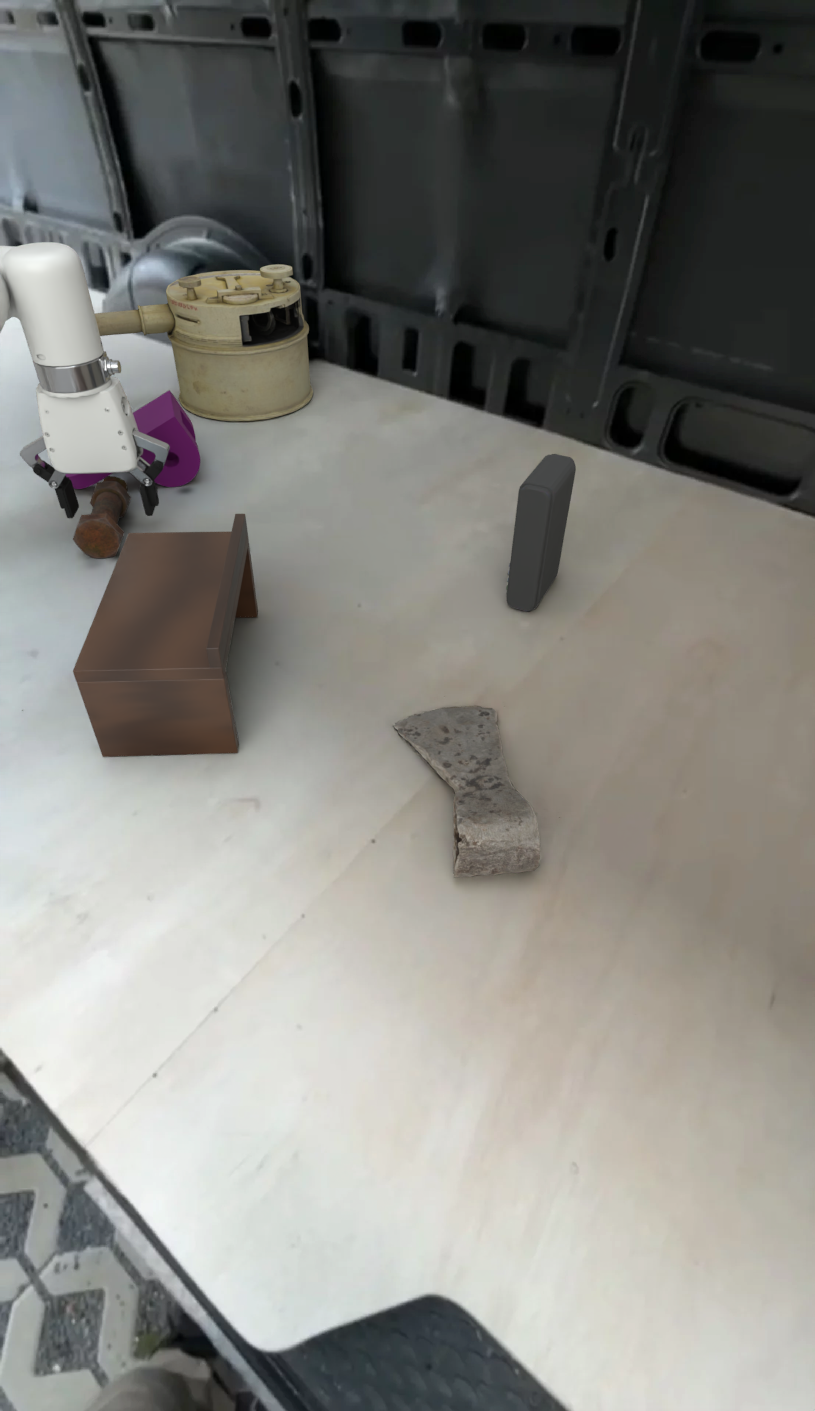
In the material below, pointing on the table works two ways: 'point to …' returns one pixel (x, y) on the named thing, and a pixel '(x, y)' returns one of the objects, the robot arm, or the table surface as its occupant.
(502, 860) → the axe head
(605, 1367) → the table surface
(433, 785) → the table surface
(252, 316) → the mechanical device
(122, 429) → the robot arm
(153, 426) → the mounting bracket
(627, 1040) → the table surface
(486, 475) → the table surface
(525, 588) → the card reader
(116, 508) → the bolt
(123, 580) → the shelf
